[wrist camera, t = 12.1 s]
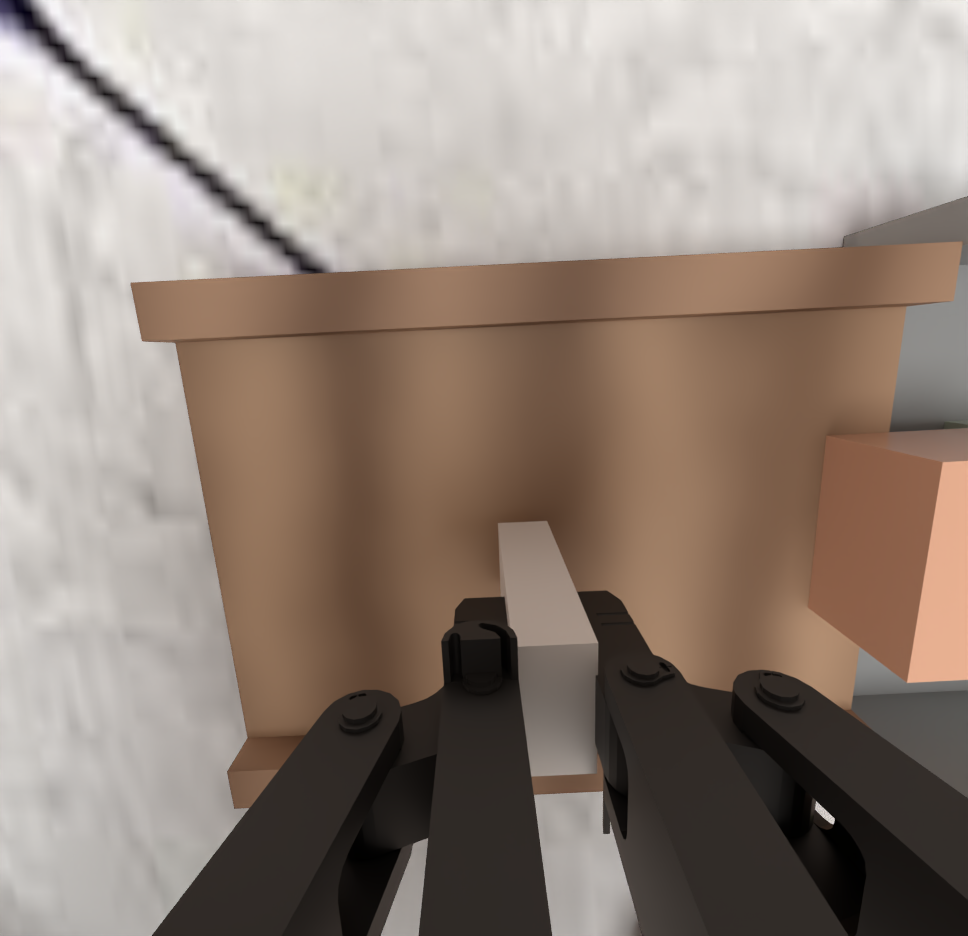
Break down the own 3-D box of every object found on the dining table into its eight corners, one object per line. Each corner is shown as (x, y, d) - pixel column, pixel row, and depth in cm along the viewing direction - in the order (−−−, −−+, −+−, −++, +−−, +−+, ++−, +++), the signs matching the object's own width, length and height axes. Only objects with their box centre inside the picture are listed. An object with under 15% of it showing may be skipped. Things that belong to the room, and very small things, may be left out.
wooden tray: (285, 714, 21) (234, 808, 17) (218, 300, 17) (130, 282, 13) (795, 690, 21) (878, 778, 17) (840, 270, 17) (963, 241, 13)
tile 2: (807, 607, 17) (906, 682, 13) (826, 435, 16) (942, 462, 12) (981, 598, 17) (1131, 670, 13) (1014, 425, 16) (1193, 449, 12)
